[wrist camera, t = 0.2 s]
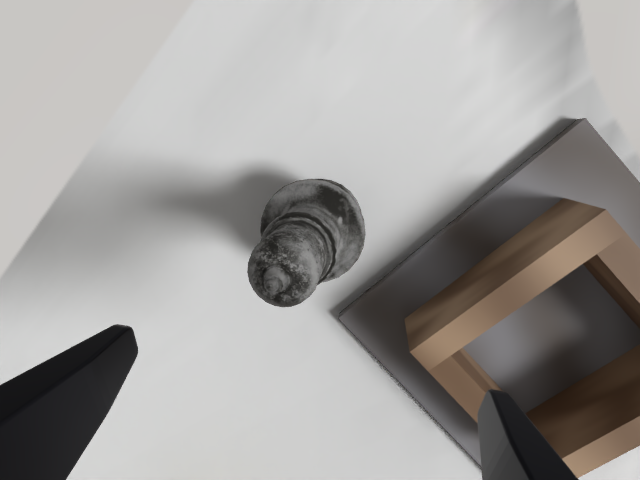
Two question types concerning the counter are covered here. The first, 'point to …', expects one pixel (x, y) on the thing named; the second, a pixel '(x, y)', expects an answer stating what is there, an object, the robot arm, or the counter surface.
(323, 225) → the grey stone pawn figure
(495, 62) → the counter surface
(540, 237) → the end holder
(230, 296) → the counter surface
